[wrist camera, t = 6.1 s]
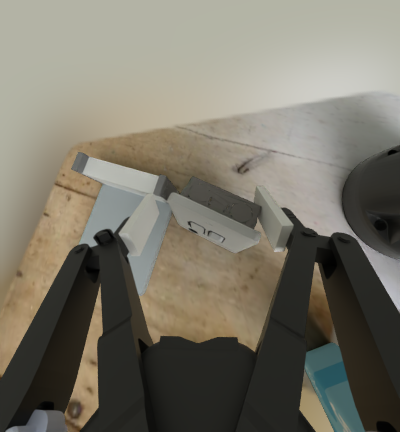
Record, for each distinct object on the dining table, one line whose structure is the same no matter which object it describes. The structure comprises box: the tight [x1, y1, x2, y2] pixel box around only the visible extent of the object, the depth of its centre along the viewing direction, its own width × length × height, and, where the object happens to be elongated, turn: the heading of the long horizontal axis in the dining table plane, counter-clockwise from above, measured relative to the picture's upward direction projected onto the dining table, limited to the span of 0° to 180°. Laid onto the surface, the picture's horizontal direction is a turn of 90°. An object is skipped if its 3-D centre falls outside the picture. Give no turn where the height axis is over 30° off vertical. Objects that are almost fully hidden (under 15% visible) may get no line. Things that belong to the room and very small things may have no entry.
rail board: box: [71, 152, 179, 296], centre depth 20 cm, size 12×16×6 cm
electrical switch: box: [167, 177, 261, 253], centre depth 17 cm, size 9×5×9 cm, turn 64°
